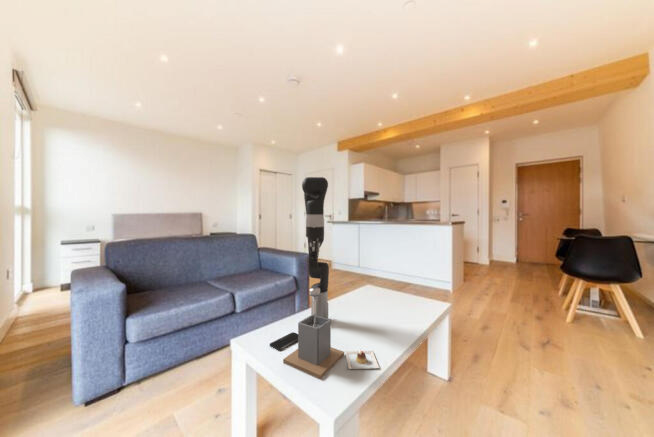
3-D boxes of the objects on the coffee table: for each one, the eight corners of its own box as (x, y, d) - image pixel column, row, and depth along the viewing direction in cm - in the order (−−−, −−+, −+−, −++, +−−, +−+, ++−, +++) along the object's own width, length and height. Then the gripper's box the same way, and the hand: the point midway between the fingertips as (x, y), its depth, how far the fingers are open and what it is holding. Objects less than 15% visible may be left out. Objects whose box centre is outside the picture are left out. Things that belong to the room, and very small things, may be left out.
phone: (304, 336, 115) (279, 350, 103) (304, 339, 115) (279, 352, 103) (292, 331, 120) (268, 343, 108) (292, 334, 120) (268, 346, 108)
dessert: (372, 353, 103) (372, 342, 103) (379, 371, 91) (379, 358, 91) (345, 353, 102) (345, 342, 102) (348, 371, 90) (348, 359, 90)
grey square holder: (310, 343, 110) (310, 309, 110) (344, 355, 100) (344, 318, 100) (283, 362, 95) (283, 324, 95) (320, 379, 85) (320, 336, 85)
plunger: (312, 323, 103) (312, 285, 103) (327, 328, 99) (327, 288, 99) (301, 330, 97) (301, 289, 97) (316, 335, 92) (317, 292, 92)
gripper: (308, 225, 105) (307, 264, 105) (303, 226, 91) (303, 271, 91) (325, 225, 104) (324, 264, 104) (323, 226, 91) (323, 271, 91)
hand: (314, 267), depth 98 cm, fingers closed
